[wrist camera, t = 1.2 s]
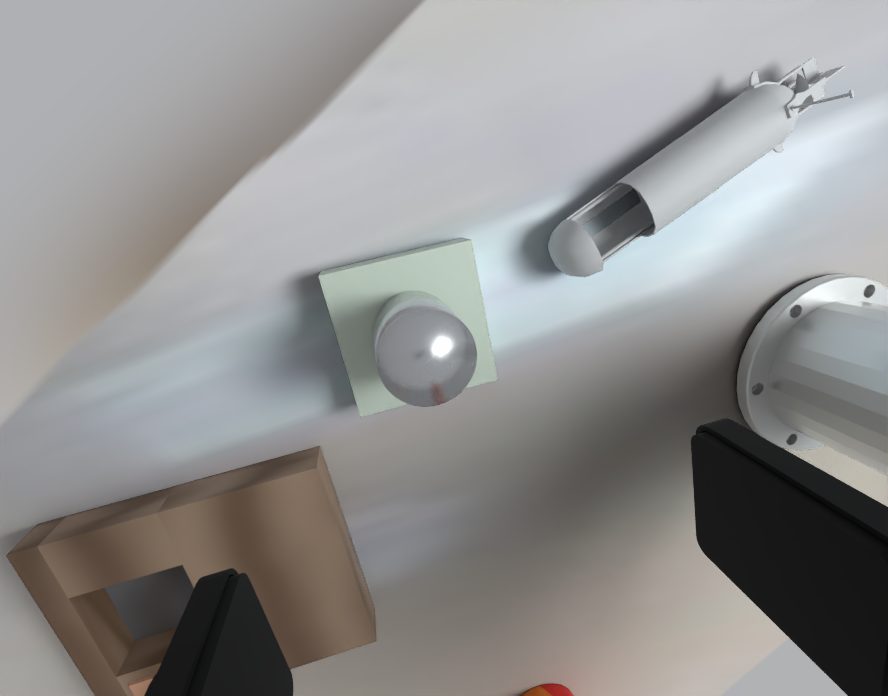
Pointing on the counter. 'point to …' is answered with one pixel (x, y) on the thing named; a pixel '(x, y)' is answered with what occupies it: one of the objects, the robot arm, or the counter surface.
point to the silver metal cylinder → (422, 349)
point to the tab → (377, 280)
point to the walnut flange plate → (199, 568)
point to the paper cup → (549, 690)
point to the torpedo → (690, 168)
